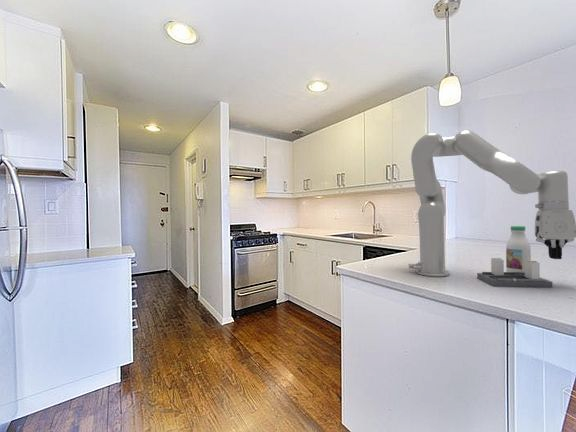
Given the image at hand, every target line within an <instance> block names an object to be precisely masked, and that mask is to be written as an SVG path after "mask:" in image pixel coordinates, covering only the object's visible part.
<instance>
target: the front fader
mask: <svg viewBox="0 0 576 432" xmlns="http://www.w3.org/2000/svg"><path fill="white" fill-rule="evenodd" d="M540 263H541V262H538V261H537V260H531V261H525V277H526V278H529V279H540V278H541V275H540V271H541V270H540V267H541V266H540Z"/></svg>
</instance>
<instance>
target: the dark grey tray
mask: <svg viewBox="0 0 576 432" xmlns="http://www.w3.org/2000/svg"><path fill="white" fill-rule="evenodd" d="M476 276H477V277H476V278H477V279H479V280H480V281H483V282H484V283H486V284H488V285H490V286H491V287H498V288H501V287H502V288H503V287H504V288H507V287H508V288H549V289H550V288H553V281H551V280H548V279H545V278H543V277H540V279H529V278H526V277H525V272H506V271H504V275H494V274H492V273H491V271H481V272H477V273H476Z"/></svg>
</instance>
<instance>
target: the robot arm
mask: <svg viewBox="0 0 576 432" xmlns="http://www.w3.org/2000/svg"><path fill="white" fill-rule="evenodd" d="M410 155H411V157H410V160H411V167H412V176H413V182H414V188H415V193H416V194H417V196H419V200H420V206H419V208H418V212H417V218H418V229H419V230H418V232H419V234H418V235H419V236H418V237H419V261H417V263H408V269H414V270H416V274H419V275H422V276H426V277H433V278H434V277H436V278H437V277H439V278H440V277H447V276H450V271H449V270H448V269H446V257H445V256H446V255H445V254H446V252H445V221H444V219H445V215H446V205H445V201H444V196H443V190H442V185H441V183H440V181H439V180H438V179H437V175H436V170H435V163H434V158H437V157H438V158H439V157H455V156H456V157H457V156H463V157H465V158H466V159H467V160H469V161H470V162H471V163H473V164H474V165H476V166H477V167H479V169H482V170H483V171H485V172H487V173H490V174H492V175H493V176H495V177H498V178H499V179H501V181H503V182H505V183H506V184H507V185H509V189H510V190H511V191H512V192H513V193H515V194H517V195H527V194H532V193H533V194H534V193H537V195H538V196H537V197H538V203H536V204H535V206H534V207H535V208H536V209H538V210H537V212H536V214H535V218H534V219H535V221H534V235H535V239H536V240H535V242H538V243H540V244H541V243H542V244H544V245H545V246H546V247H548V248H547V249H548V258H550V259H554V260H562V259H563V248H564V247H565V245H566V244H567V243H571V242H574V241H575V238H576V218H575V215H574V212H573V210H572V209H570V206H569V203H570V202H569V182H568V181H569V178H568V177H569V175H568V173H567V171H564V170H555V171H554V170H553V171H545V172H541V173H536V172H535V171H533V170H531V169H530V168H529V167H527V166H526V165H524V164H523V163H521V162H520V161H518V160H516V159H515V158H513V157H511V156H510V155H509V154H506V153H505V152H503V150H502V151H501V150H500V149H499V148H497V147H495V146H494V145H492V143H490V142H489V141H487V140H485V139H484V138H483V137H481V136H480V135H478V134H477V133H475V132H474V131H471V130H468V129H465V130H461V131H459V132H458V133H457V134H456V135H454V136H448V137H447V136H445V137H442V135H441V134H439V133H436V132H428V133H426V134H425V135H423V136H422V137H420V138H419V139H418V140H417V141H416V142H415V144H414V145H413V148H412V151H411V154H410Z"/></svg>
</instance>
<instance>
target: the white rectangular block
mask: <svg viewBox="0 0 576 432" xmlns="http://www.w3.org/2000/svg"><path fill="white" fill-rule="evenodd" d="M504 262H505V260H504V259H502V258H501V257H500V258H499V257H491V260H490V264H491V266H490V272H491V273H492V274H494V275H504V272H505V271H504V270H505V269H504V267H505V266H504Z"/></svg>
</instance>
